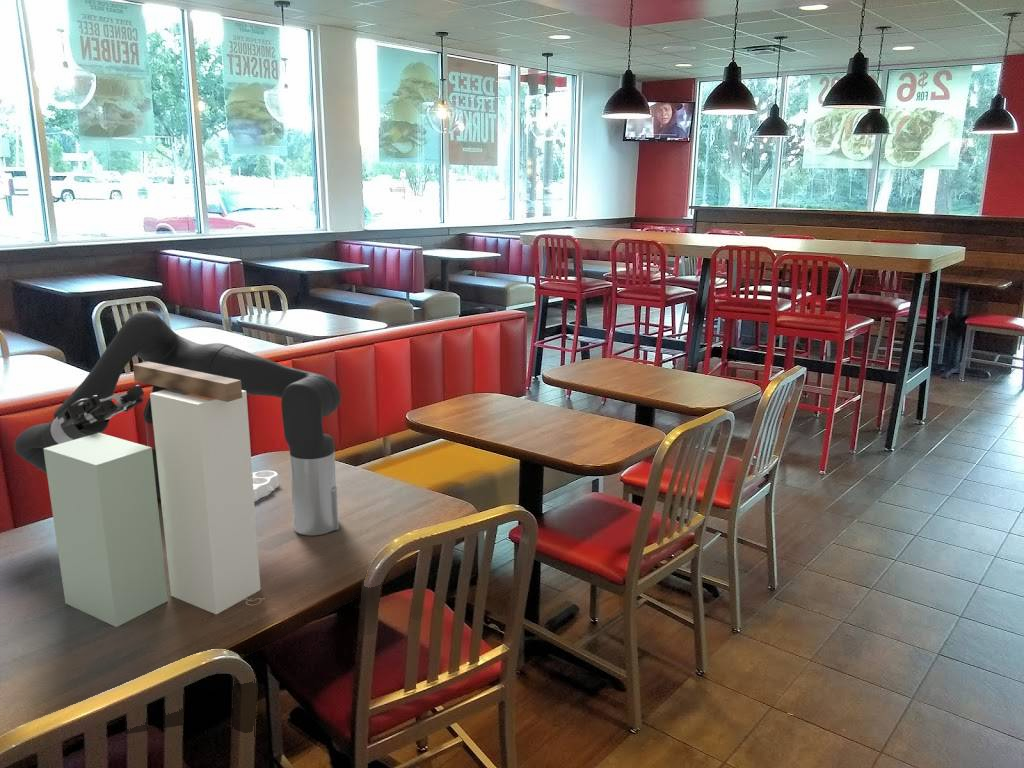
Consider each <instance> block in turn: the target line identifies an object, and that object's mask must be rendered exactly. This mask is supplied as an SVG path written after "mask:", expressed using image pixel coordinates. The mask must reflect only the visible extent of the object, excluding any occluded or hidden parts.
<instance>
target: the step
mask: <svg viewBox="0 0 1024 768" xmlns="http://www.w3.org/2000/svg"><path fill="white" fill-rule="evenodd" d="M43 450H44V457H45V464H46V471H47V474H46V478H47V483H48V491H49V498H50V503H51V513H52V519H53V526H54V533H55V539H56V546H57V547H56V548H57V555H58V560H59V568H60V575H61V581H62V582H61V583H62V588H63V594H64V601H65V602H64V604H66V605H69V606H71V607H72V608H75V609H77V610H79V611H81V612H83V613H85V614H88V615H90V616H92V617H94V618H96V619H97V620H100V621H102V622H104V623H107V624H109V625H111V626H113V627H115V628H118V627H119V626H122V625H124V624H126V623H127V622H129V621H131V620H134V619H136V618H137V617H139V616H141V615H143V614H145V613H148V612H150V611H151V610H153V609H155V608H156V607H159V606H161V605H163V604H165V603H166V602H168V601H169V599H168V589H167V580H166V579H167V578H166V572H165V561H164V559H165V558H164V553H163V551H164V550H163V541H162V533H161V532H162V531H161V523H160V513H159V506H158V505H159V504H158V499H157V493H156V484H155V474H154V465H153V455H152V447H148V445H145V444H140V443H137V442H133V441H129V440H127V439H123V438H119V437H116V436H112V435H108V434H106V433H103V432H102V433H97V434H93V435H89V436H86V437H82V438H79V439H75V440H72V441H68V442H65V443H61V444H58V445H54V446H50V447H47V448H43Z"/></svg>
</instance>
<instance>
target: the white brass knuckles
mask: <svg viewBox="0 0 1024 768" xmlns="http://www.w3.org/2000/svg"><path fill="white" fill-rule="evenodd" d="M252 477H253V491H254V503H255V502H258V501H259V500H260V499H261V498H263V497H264V498H265V497H268V496H269V495H270V494H272V492H273V491H275V490H276V488H279V474H278V472H276V471H274V470H260V471H257V472H254V471H253V472H252Z"/></svg>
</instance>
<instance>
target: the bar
mask: <svg viewBox="0 0 1024 768" xmlns="http://www.w3.org/2000/svg"><path fill="white" fill-rule="evenodd" d="M132 369H133V371H132V372H133V378H134V382H137V383H142V384H146V385H150V386H153V385H154V386H159V387H163V388H168V389H172V390H177V391H181V392H186V393H190V394H195V395H199V396H204V397H208V398H212V399H217V400H221V401H226V402H229V401H233V400H236V399H240V398H242V388H241V380H237V379H232V378H227V377H222V376H217V375H212V374H208V373H203V372H198V371H193V370H188V369H183V368H178V367H173V366H168V365H163V364H158V363H153V362H145V361H143V362H140V363H139V362H138V363H134V364H132Z"/></svg>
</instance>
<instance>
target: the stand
mask: <svg viewBox="0 0 1024 768" xmlns="http://www.w3.org/2000/svg"><path fill="white" fill-rule="evenodd" d="M247 395H248V394H246V391H244V390H242V398H240V399H236V400H233V401H229V402H226V401H221V400H217V399H212V398H208V397H204V396H199V395H195V394H190V393H186V392H181V391H177V390H172V389H164V390H162V391H158V392H154V393H152V392H151V393H149V398H150V399H151V409H152V419H153V428H154V438H155V447H156V457H157V466H158V476H159V485H160V495H161V500H160V503H161V512H162V513H161V514H162V523H163V530H164V531H163V532H164V540H165V541H164V542H165V550H166V551H165V553H166V558H167V559H166V560H167V571H168V579H169V581H168V582H169V589H170V596H171V597H173V598H175V599H178V600H181V601H182V602H183V601H184V602H185V603H188V604H190V605H192V606H195V607H197V608H199V609H203V610H204V611H207V612H209V613H212V614H214V615H218V614H220V613H221V612H223V611H225V610H227V609H229V608H230V607H232V606H235V605H236V604H238V603H240V602H241V601H243V600H245V599H247V598H248V597H250V596H252V595H254V594H256V593H257V592H259V591H260V590H262V588H261V578H260V577H261V576H260V564H259V563H260V561H259V551H258V550H259V548H258V539H257V538H258V536H257V524H256V523H257V522H256V519H257V518H256V507H255V502H254V491H253V477H252V473H253V465H252V453H251V452H252V451H251V437H250V425H249V424H250V423H249V411H248V409H249V408H248V399H247V398H248V397H247Z"/></svg>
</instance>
